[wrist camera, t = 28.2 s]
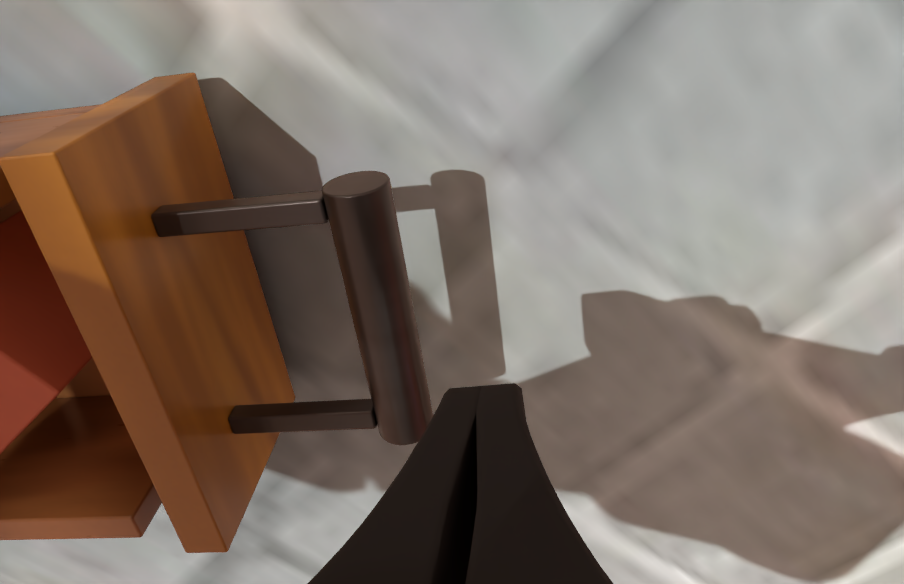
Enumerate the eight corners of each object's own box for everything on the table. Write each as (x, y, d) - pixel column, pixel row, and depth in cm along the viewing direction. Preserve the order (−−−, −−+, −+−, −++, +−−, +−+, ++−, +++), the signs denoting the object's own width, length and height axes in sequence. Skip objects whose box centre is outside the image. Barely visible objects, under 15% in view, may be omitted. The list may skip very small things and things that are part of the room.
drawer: (400, 47, 17) (345, 121, 12) (455, 389, 23) (435, 550, 17) (-232, 122, 20) (-520, 212, 14) (-47, 414, 25) (-204, 559, 20)
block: (-28, 280, 21) (-162, 377, 17) (35, 199, 19) (-98, 284, 15) (84, 361, 22) (-15, 469, 18) (151, 292, 20) (59, 393, 16)
